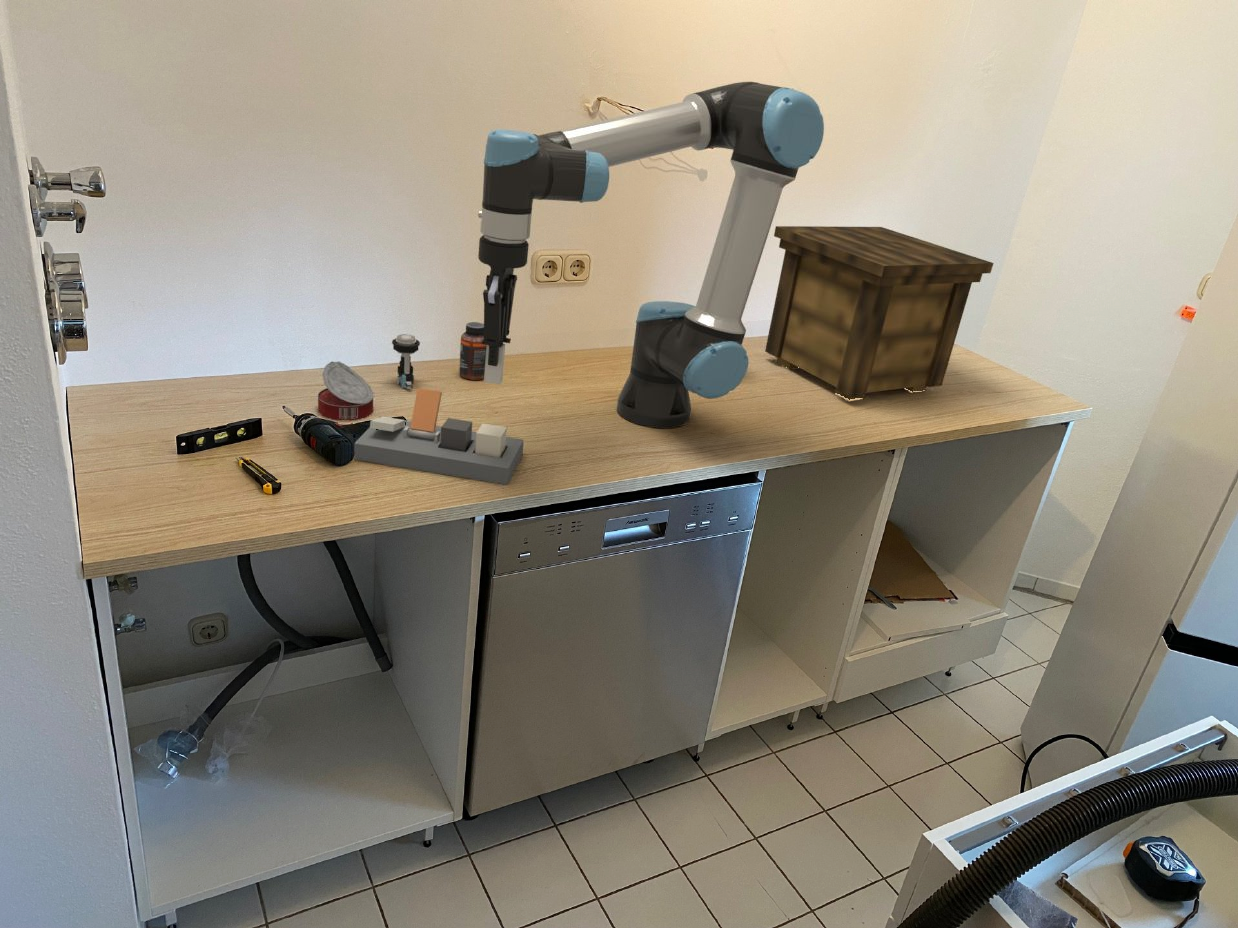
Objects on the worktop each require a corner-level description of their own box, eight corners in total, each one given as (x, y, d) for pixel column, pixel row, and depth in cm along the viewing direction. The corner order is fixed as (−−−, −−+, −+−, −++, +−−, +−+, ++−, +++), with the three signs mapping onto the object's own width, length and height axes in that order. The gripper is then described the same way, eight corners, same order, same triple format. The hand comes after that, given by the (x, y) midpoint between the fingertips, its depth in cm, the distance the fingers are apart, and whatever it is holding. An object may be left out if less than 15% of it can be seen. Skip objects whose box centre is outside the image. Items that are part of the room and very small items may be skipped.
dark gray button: (471, 442, 157) (472, 421, 155) (464, 452, 153) (465, 431, 151) (447, 439, 157) (448, 417, 155) (440, 448, 153) (441, 427, 151)
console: (522, 455, 161) (524, 432, 159) (507, 484, 150) (509, 460, 148) (379, 431, 162) (380, 409, 160) (354, 459, 151) (354, 435, 149)
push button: (422, 391, 181) (423, 343, 177) (395, 392, 179) (396, 344, 175) (415, 379, 187) (416, 332, 182) (389, 380, 185) (389, 332, 180)
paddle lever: (434, 439, 155) (443, 392, 156) (432, 439, 154) (441, 391, 154) (409, 435, 155) (418, 389, 156) (407, 434, 154) (416, 387, 155)
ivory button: (505, 448, 156) (506, 427, 155) (499, 458, 152) (501, 436, 151) (481, 444, 156) (482, 423, 155) (475, 454, 153) (476, 433, 151)
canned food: (353, 422, 176) (375, 375, 175) (370, 438, 168) (393, 389, 167) (298, 401, 169) (321, 353, 168) (313, 416, 161) (337, 366, 160)
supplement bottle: (493, 376, 193) (496, 325, 189) (474, 383, 189) (477, 331, 184) (471, 369, 196) (474, 318, 191) (453, 375, 191) (455, 323, 186)
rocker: (404, 426, 158) (405, 420, 157) (393, 431, 152) (393, 424, 152) (382, 423, 158) (382, 416, 158) (369, 427, 152) (370, 420, 152)
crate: (847, 411, 201) (884, 265, 187) (750, 357, 227) (775, 226, 213) (953, 397, 219) (993, 263, 205) (851, 348, 245) (880, 226, 231)
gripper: (490, 226, 145) (480, 365, 155) (469, 242, 133) (459, 391, 143) (536, 233, 145) (523, 372, 155) (519, 250, 133) (506, 399, 143)
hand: (493, 381), depth 149 cm, fingers closed
